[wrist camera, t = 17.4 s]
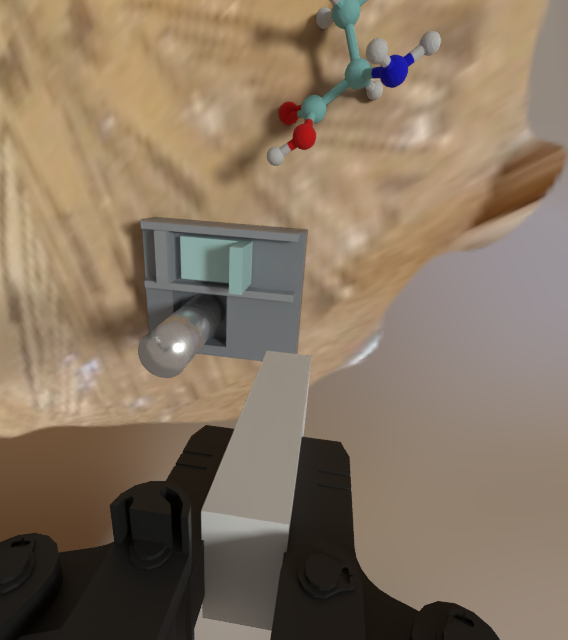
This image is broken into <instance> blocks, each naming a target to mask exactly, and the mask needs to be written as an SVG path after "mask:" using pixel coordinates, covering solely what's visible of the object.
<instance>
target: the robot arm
mask: <svg viewBox="0 0 568 640" xmlns="http://www.w3.org/2000/svg"><path fill="white" fill-rule="evenodd" d="M311 357H312V356H310V355H301V354H292V353H284V352H275V351H266V354H265V356H264V359H263V361H262V364H261V366H260V368H259V371H258V373H257V376H256V378H255V381H254V383H253V386H252V388H251V390H250V393H249V395H248V398H247V400H246V403H245V405H244V407H243V410H242V412H241V415H240V417H239V420H238V423H237V425H236V427H235V429H231V428H224V427H216V426H209V425H206V426H204V427H203V428H201V429H200V430H199V431H198V432H196V433H195V434H194V435H192V436H191V438H190V439H189V441H188V443H187V445H186V446H185V448H184V450H183V453H182V454H181V455H180V457H179V459H178V460H177V462H176V466H174V468H173V469H172V471H171V473H170V475H169V476H168V478H167V480H166V481H150V482H146V483H142V484H139V485H135V486H134V487H132V488H130V489H128V490H127V491H125V492H123V493H121V494H120V495H119V496H118V497H117V498H116V499H115V500H114V501H113V502H112V503H111V505H110V511H111V519H112V526H113V535H114V542H112V543H110V544H107V545H103V546H99V547H95V548H88V549H80V550H74V551H67V552H59V553H58V547H57V544H56V543H55V542H54V541H53V540H52V539H51V538H50V537H49V536H47V535H42V534H37V533H31V534H24V535H17V536H15V537H12V538H10V539H7V540H5V541H2V542H0V640H194V628H195V624H196V621H197V618H198V615H199V612H200V609H201V605H202V604H203V618H208V619H213V620H219V621H224V622H229V623H235V624H240V625H246V626H251V627H256V628H261V629H267V630H272V632H271V639H270V640H500V639H499V638H498V636H497V635H496V634H495V632H494V631H493V630H492V628H491V627H490V626H489V625H488V624H486V623H485V622H484V621H483V620H482V619H481V618H479V617H478V616H477V615H476V614H475V613H474V612H472V611H470V610H467V609H466V608H464V607H462V606H459V605H457V604H455V603H449V602H441V601H437V602H434V603H431V604H428V605H425V606H424V607H423V608H422V609H421V610H420V611H417V610H416V609H413V608H412V607H410V606H408V605H406V604H404V603H402V602H400V601H398V600H396V599H394V598H392V597H390V596H389V595H387V594H386V593H384V592H383V591H381V590H380V589H378V588H377V587H376V586H375V585H374V584H373V583H372V582H371V581H370V580H369V579H368V578H367V576H366V575H365V573H364V572H363V571H362V569H361V567H360V565H359V563H358V561H357V558H356V553H355V548H354V531H353V512H352V495H351V477H350V458H349V456H348V454H347V452H346V450H345V449H344V447H343V445H342V444H341V442H337V441H329V440H322V439H314V438H307V437H303V434H304V426H305V416H306V405H307V397H308V387H309V377H310V367H311Z"/></svg>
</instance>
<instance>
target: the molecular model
mask: <svg viewBox="0 0 568 640" xmlns="http://www.w3.org/2000/svg"><path fill="white" fill-rule="evenodd" d="M329 1H330V2H331V3H332V4H333V5H334V7H333V10H330V9H329V8H326V7H323V8H321V9H320V10H319V11H318V12H317V15H316V23H317V25H318V26H319V27H320V28H322V29H326V28H328V27H329V26H330V25H331V23H332V21H334V22H335V24H336V25H337V26H338V27H339V28H342V29H345V33H346V38H347V43H348V49H349V54H350V59H351V62H350V63H349V64H348V66H347V68H346V71H345V79H344V80H343V81H341V82H340V83H339V84H338V85H336V86H335V87H334V88H333V89H332V90H330V91H329V92H328V93H327V94H325V95H324V96H323V97H320V96H318V95H310V96H308V97H307V98H306V99H305V100H304V101H303V103H302V105H300V106H296V105H295V104H294V103H293V102H286V103H284V104H283V105H282V106H281V107H280V109H279V118H280V120H281V121H282V122H283V123H284V124H287V125H292V124H294V123H295V122H296V121H297V120H298V118H302V117H303V118H304V120H305V123H304V124H301V125H299V126H297V127H296V128H295V130H294V132H293V139H292V140H291V141H289V142H288V143H286V144H285V145H283V146H282V147H280V148H279V147H272V148H270V149H269V151H268V152H267V160H268V162H269V163H270V164H271V165H274V166H278V165H280V164H281V163H282V162H283V160H284V156H285V155H287V154H288V153H290V152H291V151H293V150H294V149H296V148H297V147H298V148H299V149H302V150H307V149H309V148H311V147H312V146H313V145H314V143H315V140H316V132H315V130H314V129H313V127H312V126H313V124H316V123H318V122H320V121H321V120H322V119H323V118H324V116H325V114H326V105H327V104H329V103H330V102H331V101H332V100H334V99H335V98H336V97H337V96H339V95H340V94H341V93H342V92H344V91H345V90H346V89H347V88H349V87H351V88H352V89H356V90H357V89H362V88H363V87H365V88H366V89H367V90H366V94H367V96H368V98H369V99H371V100H376V99H378V98H379V97H380V96H381V95H382V92H383V86H382V84H381V83H380V82H378V81H373V82H372V80H371V79H372V78H380V79H381V82H382V83H383V84H384V85H385V86H387V87H391V88H393V87H396V86H398V85H400V84H402V83H403V81H404V80H405V78H406V76H407V73H408V67H409V66H410V65H411V64H412V63H414V62H415V61H416V60H418V59H419V58H420V57H421V56H423V55H427V56H430V55H432V54H434V53H435V52H436V51H437V50H438V48H439V47H440V43H441V38H440V35H439V34H438V33H437V32H436V31H429V32H427V33H425V34H424V35H423V36H422V38H421V40H420V44H419V45H418V46H417V47H416V48H415V49H413V50H412V51H411V52H410V53H408V54H407V55H406V56H404V57H402V56H399V55H392V56H390V57H389V56H388V54H387V53H388V46H387V43H386V41H385V40H384V39H381V38H376V39H373V40H372V41H371V42H370V43H369V44H368V46H367V50H366V56H367V59H368V61H369V62H370V63H373V64H380V65H381V67H373V68H371V66H370V64H369V62H368V61H367V60H365V59H362V58H360V56H359V51H358V46H357V41H356V35H355V30H354V25H355V23H356V22H357V20H358V18H359V14H360V7H361V6H362V5H363V4H364V3H365V2H366V1H368V0H329Z"/></svg>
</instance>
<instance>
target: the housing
mask: <svg viewBox="0 0 568 640" xmlns="http://www.w3.org/2000/svg"><path fill="white" fill-rule="evenodd" d="M140 222H141V229H142V233H143V249H144V264H145V280H144V284H145V287H146V296H147V311H148V327H149V333H150V332H151V331H152V330H154V329H155V328H156V327H157V326H158V325H160V324H161V323H162V322H163V321H165V320H166V319H167V318H168V317H170V316H171V315H172V314H173V313H175V312H176V311H177V310H178V309H180V308H181V307H182V306H183V305H185V304H186V303H187V302H188V301H190V300H191V299H192V298H193V297H195V296H196V295H198V294H202V293H204V294H212V295H214V296H216V297H217V298H218V299H219V300H220V301H221V302H222V304H223V306H224V309H225V317H224V320H223V322H222V323H221V324H220V325H219V327H218V328H217V329H216V330H215V331H214V333H213V334H212V335H211V336H210V338H209V339H208V340H207V341H206V342H205V344H204V345H203V346H202V347H201V349H200V350H199V351H198V352H197V354H205V355H213V356H222V357H230V358H239V359H247V360H256V361H263V359H264V356H265V354H266V351H275V352H284V353H292V354H297V350H298V338H299V327H300V315H301V304H302V292H303V280H304V269H305V257H306V246H307V234H308V230H306V229H294V228H282V227H270V226H258V225H246V224H233V223H221V222H209V221H197V220H185V219H173V218H161V217H152V218H147V219H142V221H140ZM182 235H186V236H198V237H209V238H221V239H232V240H244V241H253V248H252V275H251V284H250V285H249V287H248V288H247V289H246V290H245V291H244V293H243V294H242V295H238V294H229V283H223V282H212V281H202V280H192V279H182V278H181V247H180V236H182Z"/></svg>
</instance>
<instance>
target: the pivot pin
mask: <svg viewBox="0 0 568 640" xmlns="http://www.w3.org/2000/svg"><path fill="white" fill-rule="evenodd" d="M224 317H225V309H224V306H223V304H222V302H221V301H220V300H219V299H218V298H217V297H216V296H214V295H212V294H204V293H202V294H198V295H196V296H195V297H193V298H192V299H191V300H190V301H188V302H187V303H186V304H185V305H183V306H182V307H181V308H180V309H178V310H177V311H176V312H175V313H173V314H172V315H171V316H170V317H168V318H167V319H166V320H165V321H163V322H162V323H161V324H160V325H158V326H157V327H156V328H155V329H154V330H152V331H151V332H150V333H149V334H147V335H146V336H145V337H144V338H143V339H142V340H141V341H140V344H139V347H138V355H139V359H140V361H141V363H142V365H143V366H144V367H145V368H146V369H147V370H148V371H149V372H150V373H152V374H154V375H156V376H158V377H162V378H170V377H174V376H176V375H178V374H180V373H181V372H182V371H183V369H184V368H185V367H186V366H187V365H188V363H189V362H190V361H191V360H192V358H193V357H194V356H195V355H196V354H197V352H198V351H199V350H200V349H201V347H202V346H203V345H204V344H205V342H206V341H207V340H208V339H209V338H210V336H211V335H212V334H213V333H214V331H215V330H216V329H217V328H218V327H219V325H220V324H221V323H222V322H223V320H224Z"/></svg>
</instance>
